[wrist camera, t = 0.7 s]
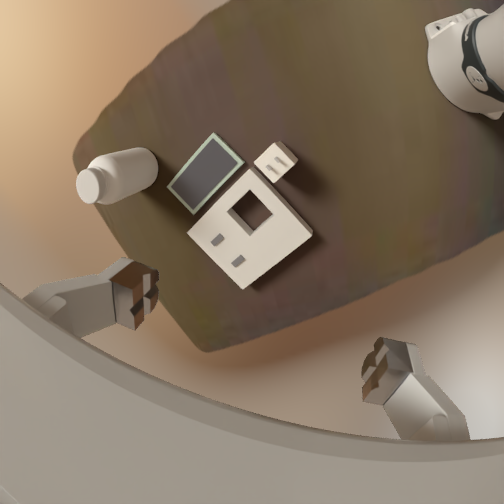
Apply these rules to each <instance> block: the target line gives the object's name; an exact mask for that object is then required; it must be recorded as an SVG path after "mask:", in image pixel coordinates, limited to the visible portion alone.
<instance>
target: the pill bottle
mask: <svg viewBox="0 0 504 504" xmlns="http://www.w3.org/2000/svg"><path fill="white" fill-rule="evenodd" d="M157 175H158V163H157V160H156V158H155V156H154V155H153V153H152V152H150V151H149V150H147V149H145V148H133V149H128V150H124V151H119V152H115V153H110V154H106V155H102V156H99V157H97V158H95V159H94V160H93V161H92V162H91V163H90V165H89V166H88V168H87V169H85V170H83V171H81V172H80V173H79V175H78V177H77V181H76V188H77V192H78V194H79V196H80V198H81V199H82V200H83V201H84V202H86V203H88V204H93V203H96V202H98V203H101V204H112V203H115V202H117V201H119V200H121V199H123V198H125V197H128V196H130V195H132V194H134V193H137V192H139V191H141V190H143V189H146V188H148V187H149V186H151V185H152V184H153V183H154V181H155V180H156V178H157Z"/></svg>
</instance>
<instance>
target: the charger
mask: <svg viewBox="0 0 504 504" xmlns="http://www.w3.org/2000/svg"><path fill="white" fill-rule="evenodd" d="M297 161H298V159H297V158H296V156H295V155H294V154H293V153H292V152H291V151H290V150H289V149H288V148H287V147H286V146H285V145H284V144H283V143H282V142H281V141H279V142H275V143H273V144H272V145H271V146H270V147H269V148H268V149H267V150H266V151H265V152H264V153H263V154H262V155H261V156H260V157H259V158H258V159H257V160H256V161H255V162H254V164H255V165H256V166H257V167H258V168H259V169H260V170H261V171H262V172H263V173H264V174H265V175H266V176H267V177H268V178H269V179H270V180H271V181H272V182H273V183H275V182H276V181H277V180H278V179H279V178H280V177H281V176H282V175H283V174H285V173H286V172H287V171H288V170H289V169H290V168H291V167H292V166H293V165H295V163H296V162H297Z"/></svg>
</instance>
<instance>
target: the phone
mask: <svg viewBox="0 0 504 504" xmlns="http://www.w3.org/2000/svg"><path fill="white" fill-rule="evenodd" d="M244 163H245V161H244V160H243V159H242V158H241V157H240V156H239V155H238V154H237V153H236V152H235V151H234V150H233V149H232V148H231V147H230V146H229V145H228V144H227V143H226V142H225V141H223V140H222V139H221V138H220V137H219V136H218V135H217V134H216V133H215V132H214V133H212V134H211V136H210V137H209V138H208V139H207V140H206V141H205V142H204V143H203V145H202V146H201V147H200V148H199V149H198V150H197V151H196V153H195V154H194V155H193V156H192V157H191V158H190V159H189V161H188V162H187V163H186V164H185V165H184V167H183V168H182V169H181V170H180V171H179V173H178V174H177V175H176V176H175V177H174V179H173V180H172V181H171V182H170V184H169V185H168V186H167V188H168V189H169V190H170V191H171V192H172V193H173V194H174V195H175V196H176V197H177V198H178V199H179V200H180V201H181V202H182V204H183V205H184V206H185V207H186V208H187V209H188V210H189V211H190V212H191V213H192V214H193V215H194V214H195V213H196V212H197V211H198V210H199V209H200V208H201V207H202V206H203V205H204V204H205V203H206V202H207V201H208V199H209V198H210V197H211V196H212V195H213V194H214V193H215V192H216V191H217V190H218V189H219V188H220V187H221V186H222V185H223V184H224V183H225V182H226V181H227V180H228V179H229V178H230V177H231V176H232V175H233V174H234V173H235V172H236V171H237V170H238V169H239V168H240V167H241V166H242V165H243V164H244Z"/></svg>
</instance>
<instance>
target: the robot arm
mask: <svg viewBox="0 0 504 504" xmlns="http://www.w3.org/2000/svg"><path fill="white" fill-rule="evenodd" d="M436 27H438V28H439V30H438V29H437V28H436ZM425 31H426V35H427V38H428V41H429V48H428V64H429V68H430V72H431V75H432V77H433V79H434V81H435V83H436V85H437V86H438V88H439V89H440V91H441V92H442V93H443V95H444V96H445V97H446V98H447V99H448V100H449V101H450V102H452V103H453V104H454V105H455V106H457V107H459V108H460V109H462V110H465V111H468V112H473V113H482V114H484V115H485V116H487V117H489V118H491V119H493V120H496V119H499V118H500V116H501V115H502V113H503V112H504V4H503V5H502V6H501V7H500V8H499V9H497V10H496V11H495V12H493V13H491V14H487V13H485V12H484V11H482V10H481V9H475V10H473V9H472V8H470V9H467V10H465V11H464V12H462V13H461V14H457V15H454V16H451V17H447V18H444V19H441V20H438V21H435V22H432V23H430V24H428V25H426V27H425ZM158 281H159V272H158V270H157V269H154V268H152V267H149V266H147V265H144V264H141V263H139V262H136V261H134V260H131V259H128V258H125V257H122V258H120V259H119V260H118V261H116V262H115V263H113V264H112V265H111V266H109V267H108V268H107V269H105V270H104V271H103V272H101V273H100V274H99V275H95V274H93V275H87V276H82V277H77V278H73V279H67V280H62V281H57V282H53V283H48V284H43V285H40V286H39V287H37V288H36V289H35V290H33V291H32V292H31V293H29V294H28V295H27V296H25V297H24V298H23V299H21V298H19V297H18V296H16V295H15V294H14V293H13V292H11V291H10V290H9V289H7V288H6V287H5V286H4V285H2V284H1V283H0V504H504V437H501V438H491V439H480V440H470V435H469V431H468V427H467V423H466V419H465V416H464V415H463V413H462V412H461V411H460V410H459V409H458V408H457V406H456V405H455V404H454V403H453V402H452V401H451V400H450V399H449V398H448V396H447V395H446V394H445V393H444V392H443V391H442V390H441V389H440V387H439V386H438V385H437V384H436V383H435V382H434V381H433V380H432V379H431V377H429V376H427V375H426V374H425V370H424V367H423V363H422V360H421V356H420V353H419V350H418V347H417V345H416V344H413V343H408V342H401V341H396V340H392V339H388V338H383V337H380V338H378V339H377V341H376V342H375V344H374V351H372V352H371V353H369V354H368V355H367V357H366V359H365V360H364V364H363V366H362V379H363V380H364V382H365V384H364V385H363V387H362V394H363V402H367V403H373V404H378V405H383V408H384V410H385V411H386V413H387V415H388V416H389V418H390V420H391V422H392V424H393V425H394V427H395V429H396V431H397V433H398V434H399V436H400V438H401V439H388V438H377V437H369V436H361V435H353V434H347V433H340V432H334V431H329V430H323V429H318V428H313V427H308V426H304V425H299V424H295V423H290V422H286V421H282V420H278V419H274V418H271V417H267V416H263V415H260V414H256V413H253V412H249V411H246V410H242V409H239V408H236V407H233V406H230V405H227V404H224V403H221V402H218V401H215V400H212V399H210V398H207V397H204V396H201V395H199V394H196V393H193V392H191V391H188V390H185V389H183V388H181V387H178V386H175V385H173V384H171V383H169V382H166V381H164V380H162V379H159V378H157V377H155V376H152V375H150V374H148V373H146V372H144V371H142V370H140V369H137V368H135V367H133V366H131V365H129V364H127V363H125V362H123V361H121V360H119V359H117V358H115V357H113V356H111V355H110V354H108V353H106V352H104V351H102V350H100V349H98V348H97V347H95V346H93V345H91V344H90V343H88V342H86V341H84V340H83V339H81V337H84V336H86V335H89V334H91V333H94V332H96V331H99V330H101V329H103V328H106V327H108V326H111V325H113V324H116V323H118V324H121V325H123V326H125V327H128V328H130V329H132V330H136V329H137V328H138V327H139V325H140V324H141V323H142V322H143V321H144V315H146V314H149V313H151V312H152V310H153V309H154V308H155V306H156V303H157V301H158V296H159V290H158V288H157V286H156V283H157V282H158Z"/></svg>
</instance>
